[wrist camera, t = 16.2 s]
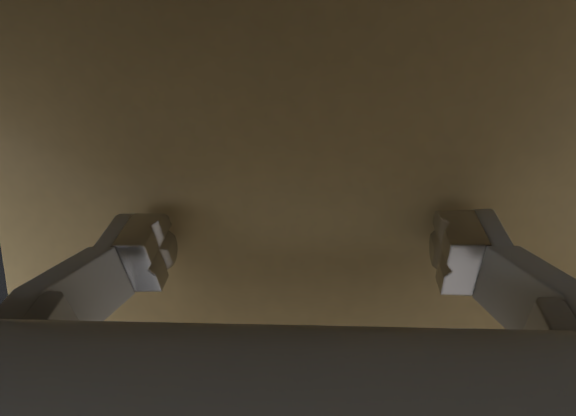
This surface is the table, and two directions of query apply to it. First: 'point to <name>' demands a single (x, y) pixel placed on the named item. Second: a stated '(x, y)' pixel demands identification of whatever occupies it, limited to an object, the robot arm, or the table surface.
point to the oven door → (287, 146)
